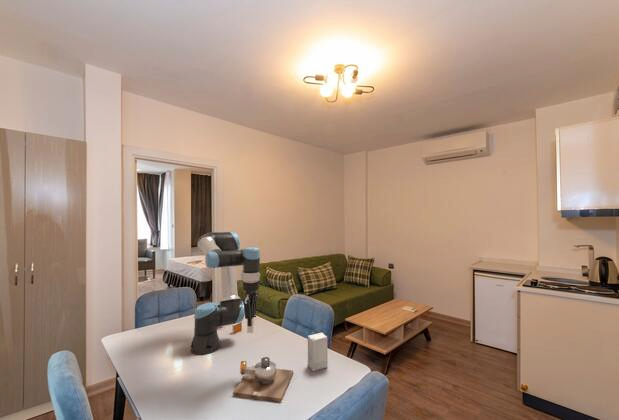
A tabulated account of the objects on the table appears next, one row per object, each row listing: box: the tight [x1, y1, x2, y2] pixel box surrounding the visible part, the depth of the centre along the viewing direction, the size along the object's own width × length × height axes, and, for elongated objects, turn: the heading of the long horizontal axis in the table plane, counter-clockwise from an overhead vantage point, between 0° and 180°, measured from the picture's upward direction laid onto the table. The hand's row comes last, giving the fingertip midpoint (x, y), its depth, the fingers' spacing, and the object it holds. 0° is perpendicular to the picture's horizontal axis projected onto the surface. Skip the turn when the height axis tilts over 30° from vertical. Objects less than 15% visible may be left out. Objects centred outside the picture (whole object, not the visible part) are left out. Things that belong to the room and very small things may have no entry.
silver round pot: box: [239, 356, 277, 382], centre depth 119 cm, size 16×9×7 cm, turn 80°
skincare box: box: [307, 332, 329, 372], centre depth 132 cm, size 8×6×15 cm
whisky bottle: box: [231, 321, 245, 335], centre depth 180 cm, size 10×6×30 cm
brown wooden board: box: [232, 365, 294, 403], centre depth 118 cm, size 20×20×3 cm
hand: (250, 332), depth 127 cm, fingers closed
